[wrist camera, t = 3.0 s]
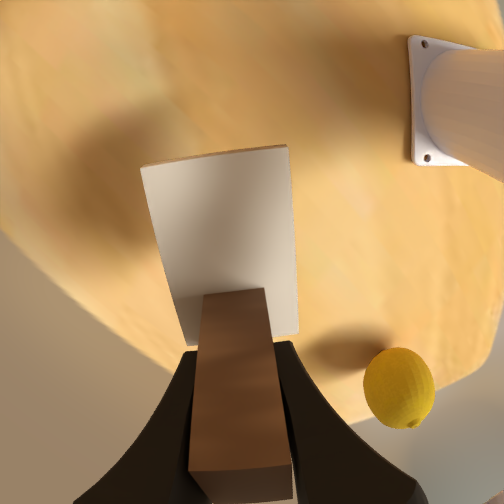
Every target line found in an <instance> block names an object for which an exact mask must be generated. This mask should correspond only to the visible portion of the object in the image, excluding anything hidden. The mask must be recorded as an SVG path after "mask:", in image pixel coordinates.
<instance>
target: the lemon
mask: <svg viewBox="0 0 504 504" xmlns="http://www.w3.org/2000/svg"><path fill="white" fill-rule="evenodd" d="M363 387H364V393H365V398H366V401H367V403H368V406H369V408H370V409H371V411H372V412H373V414H374V415H375V416H376V417H377V418H378V420H379V421H380V422H381V423H383V424H384V425H386V426H388V427H391V428H395V429H405V428H412V429H413V428H416V427H418V426H419V425H420V423H421V421H422V420H423V419H424V418H425V417H426V416H427V415H428V413H429V412H430V410H431V408H432V405H433V402H434V399H435V388H434V382H433V378H432V375H431V372H430V370H429V368H428V366H427V365H426V363H425V362H424V361H423V359H422V358H421V357H420V356H419V355H418V354H416V353H415V352H413V351H411V350H409V349H406V348H391V349H387V350H383V351H381V352H380V353H379V354H378V355H377V356H376V357H374V358H373V359H372V361H371V362H370V363H369V365H368V367H367V369H366V371H365V375H364V380H363Z"/></svg>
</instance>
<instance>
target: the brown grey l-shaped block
mask: <svg viewBox="0 0 504 504" xmlns="http://www.w3.org/2000/svg"><path fill="white" fill-rule="evenodd" d="M140 171H141V176H142V181H143V185H144V190H145V194H146V199H147V203H148V208H149V212H150V216H151V220H152V224H153V228H154V233H155V237H156V240H157V244H158V248H159V252H160V256H161V260H162V263H163V267H164V271H165V274H166V278H167V281H168V285H169V288H170V292H171V295H172V299H173V302H174V305H175V309H176V312H177V315H178V319H179V322H180V325H181V328H182V331H183V334H184V338H185V341H186V344H187V346H194V345H198V352H197V362H196V373H195V384H194V396H193V408H192V421H191V435H190V450H189V466H188V471H189V473H190V474H191V475H192V477H193V478H194V480H195V481H196V482H197V483H198V485H199V486H200V487H201V489H202V490H203V491H204V493H205V494H206V495H207V496H208V498H209V499H210V500H211V501H212V503H213V504H246V503H259V502H270V501H279V500H287V499H293V489H292V462H291V455H290V449H289V442H288V436H287V429H286V423H285V416H284V410H283V403H282V397H281V390H280V384H279V378H278V371H277V365H276V358H275V352H274V346H273V339H272V337H278V336H285V335H292V334H299V324H298V295H297V272H296V251H295V233H294V217H293V201H292V187H291V174H290V161H289V149H288V146H287V145H286V144H285V145H274V146H264V147H255V148H246V149H238V150H230V151H223V152H216V153H209V154H202V155H196V156H189V157H183V158H177V159H171V160H166V161H160V162H155V163H150V164H144V165H143V166H142V167H141V168H140Z"/></svg>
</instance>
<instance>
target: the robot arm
mask: <svg viewBox="0 0 504 504" xmlns="http://www.w3.org/2000/svg"><path fill="white" fill-rule="evenodd" d="M422 41H423V42H424V43H425V48H423V46H422V44H421V42H422ZM408 51H409V63H410V79H411V104H412V146H411V159H412V162H413V163H414V164H415V165H417V166H471V167H473V168H475V169H477V170H479V171H481V172H483V173H485V174H487V175H489V176H491V177H493V178H495V179H497V180H499V181H501V182H502V183H504V50H487V49H476V48H473V47H469V46H465V45H461V44H457V43H453V42H449V41H444V40H440V39H435V38H430V37H424V36H419V35H413V36H410V37H409V38H408ZM426 154H427V156H428V157H427V159H426V160H425V161H424V156H425V155H426ZM273 346H274V352H275V358H276V365H277V371H278V378H279V384H280V390H281V397H282V403H283V410H284V416H285V423H286V429H287V436H288V442H289V449H290V454H291V458H292V463H293V470H294V476H295V484H296V491H297V498H298V504H428V500H427V497H426V495H425V493H424V491H423V490H422V488H421V486H420V485H419V483H418V482H417V480H415V479H414V478H412V477H410V476H409V475H407V474H406V473H404V472H403V471H401V470H400V469H398V468H397V467H396V466H394V465H393V464H391V463H390V462H389V461H387V460H386V459H385V458H384V457H382V456H381V455H380V454H379V453H377V452H376V451H375V450H374V449H373V448H371V447H370V446H369V445H368V444H367V443H366V442H365V441H364V440H362V439H361V438H360V437H359V436H358V435H357V434H356V433H355V432H354V431H353V430H352V429H351V428H350V427H349V426H348V425H347V424H346V423H345V421H344V420H343V419H342V418H341V417H340V416H339V415H338V414H337V413H336V411H335V410H334V409H333V408H332V406H331V405H330V404H329V403H328V401H327V400H326V399H325V398H324V396H323V395H322V393H321V392H320V391H319V389H318V388H317V386H316V385H315V383H314V382H313V380H312V379H311V377H310V376H309V374H308V373H307V371H306V369H305V368H304V366H303V364H302V362H301V361H300V359H299V357H298V355H297V353H296V351H295V348H294V346H293V343H292V342H291V341H282V342H275V343H273ZM197 352H198V351H186V352H185V353H184V354H183V356H182V358H181V361H180V363H179V365H178V367H177V370H176V372H175V374H174V376H173V378H172V380H171V382H170V384H169V386H168V388H167V390H166V392H165V394H164V396H163V398H162V400H161V401H160V403H159V405H158V406H157V408H156V410H155V411H154V413H153V415H152V416H151V418H150V420H149V421H148V423H147V424H146V426H145V427H144V429H143V430H142V432H141V433H140V435H139V436H138V437H137V439H136V440H135V441H134V443H133V444H132V445H131V446H130V448H129V449H128V450H127V451H126V452H125V454H124V455H123V456H122V457H121V458H120V460H119V461H118V462H117V463H116V464H115V465H114V466H113V467H112V468H111V469H110V470H109V471H108V472H107V473H106V474H105V475H104V476H103V477H102V478H101V479H100V480H99V481H98V482H97V483H96V484H95V485H93V486H92V487H91V488H90V489H89V490H87V491H86V492H85V493H84V494H82V495H81V496H80V497H79V498H77V499H76V500H75V501H74V502H73V504H212V501H211V500H210V499H209V498H208V496H207V495H206V494H205V493H204V491H203V490H202V489H201V487H200V486H199V485H198V483H197V482H196V481H195V480H194V478H193V477H192V475H191V474H190V473H189V471H188V466H189V450H190V435H191V421H192V408H193V396H194V384H195V373H196V362H197ZM484 504H504V490H503V491H501V492H499V493H498V494H497V495H495V496H493V497H492V498H491V499H489V500H488V501H487V502H485V503H484Z"/></svg>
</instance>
